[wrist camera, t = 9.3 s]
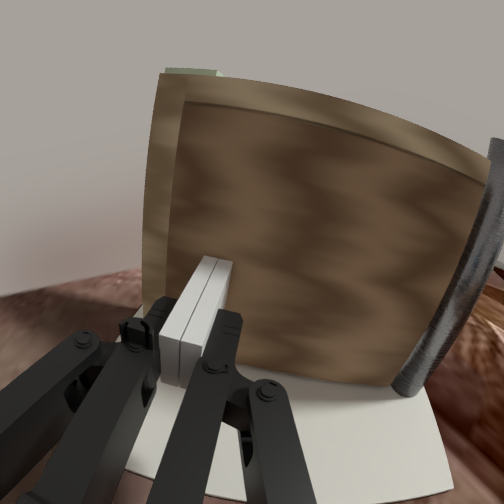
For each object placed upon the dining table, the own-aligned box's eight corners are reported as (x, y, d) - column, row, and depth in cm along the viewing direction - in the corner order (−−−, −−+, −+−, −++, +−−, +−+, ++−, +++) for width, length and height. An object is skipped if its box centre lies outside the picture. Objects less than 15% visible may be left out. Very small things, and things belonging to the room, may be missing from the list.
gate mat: (409, 356, 22) (411, 354, 22) (451, 489, 10) (453, 488, 9) (145, 304, 23) (145, 301, 23) (55, 434, 11) (54, 432, 10)
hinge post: (411, 375, 20) (509, 152, 12) (420, 400, 17) (535, 159, 10) (385, 373, 20) (483, 136, 12) (392, 399, 18) (509, 140, 10)
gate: (384, 371, 19) (476, 157, 12) (388, 386, 18) (491, 161, 11) (153, 323, 20) (172, 77, 13) (144, 336, 19) (159, 73, 12)
